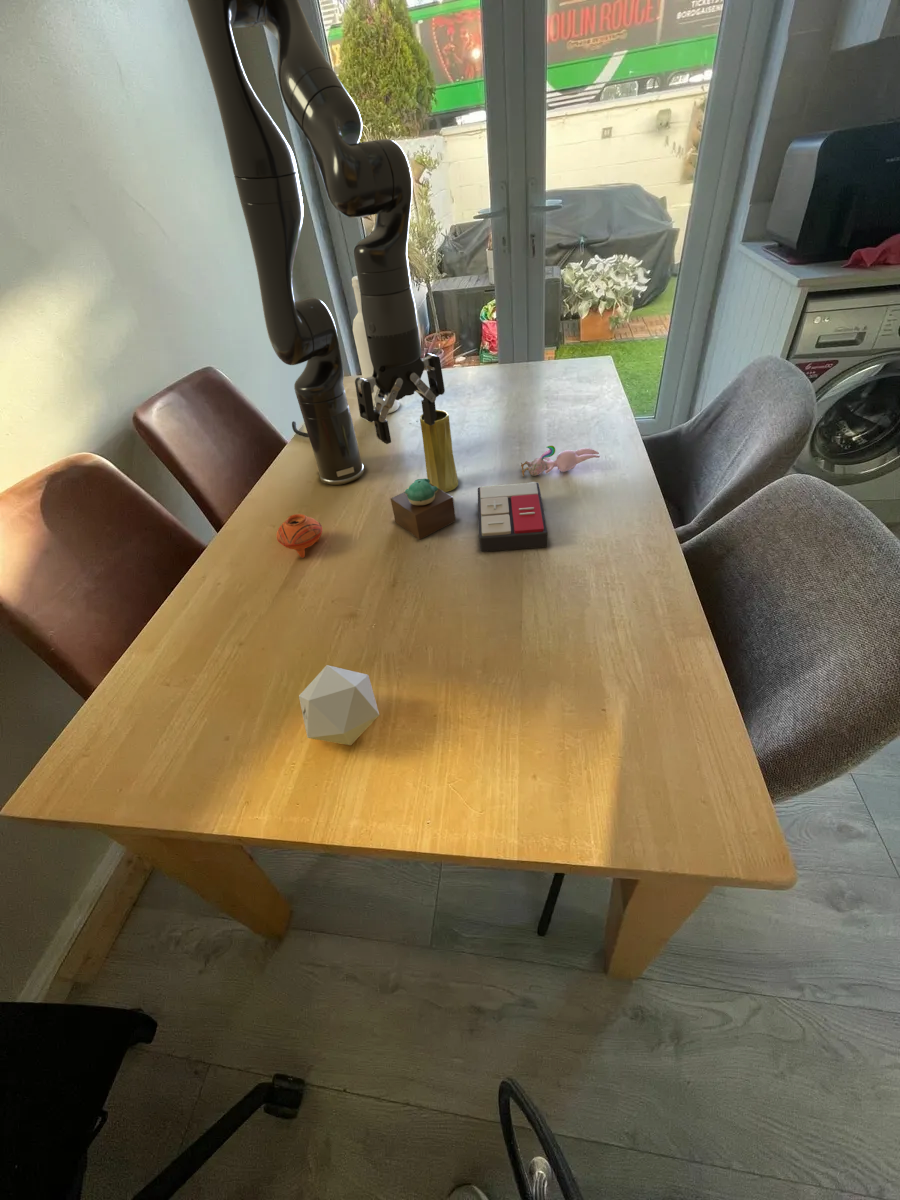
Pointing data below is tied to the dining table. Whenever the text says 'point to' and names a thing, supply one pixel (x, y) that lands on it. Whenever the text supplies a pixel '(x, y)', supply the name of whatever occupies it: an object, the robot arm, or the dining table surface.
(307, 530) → the pot
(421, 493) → the whale figurine
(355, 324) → the bottle
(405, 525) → the walnut block
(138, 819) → the dining table surface
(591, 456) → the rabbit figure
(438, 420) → the vase
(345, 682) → the die
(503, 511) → the calculator
